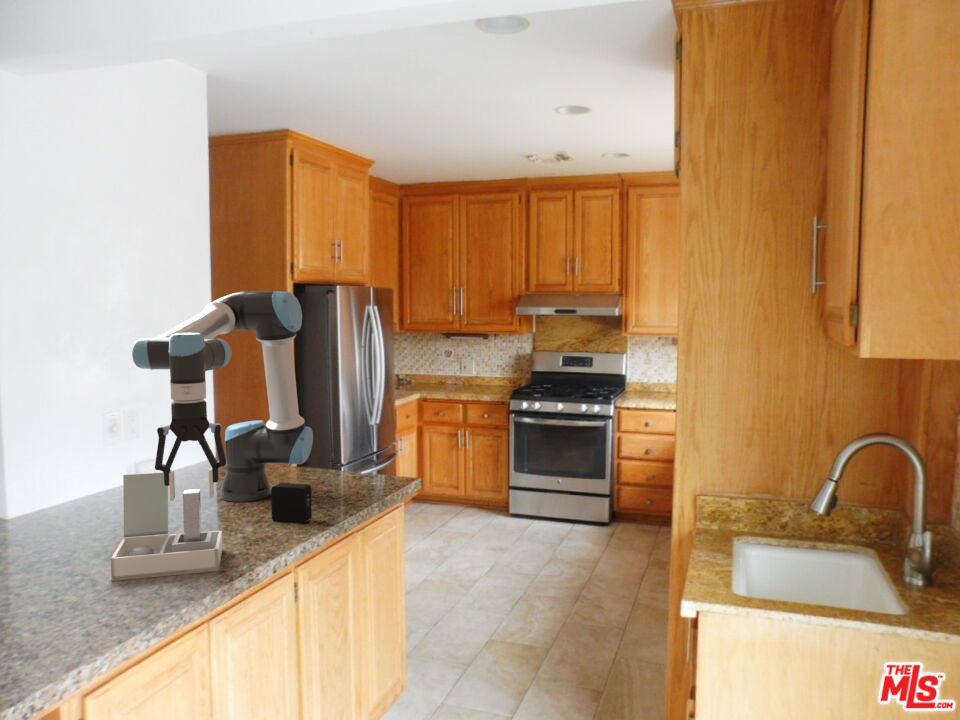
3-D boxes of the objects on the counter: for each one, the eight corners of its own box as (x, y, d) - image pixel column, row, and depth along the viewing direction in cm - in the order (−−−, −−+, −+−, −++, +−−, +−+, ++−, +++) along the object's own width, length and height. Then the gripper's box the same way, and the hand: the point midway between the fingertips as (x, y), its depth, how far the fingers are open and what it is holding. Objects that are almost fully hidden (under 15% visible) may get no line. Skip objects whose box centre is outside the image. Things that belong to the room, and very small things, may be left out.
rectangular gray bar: (186, 556, 168) (184, 489, 166) (201, 555, 169) (200, 488, 167) (184, 561, 164) (182, 493, 163) (200, 560, 165) (198, 492, 164)
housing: (124, 558, 169) (123, 534, 168) (222, 550, 175) (222, 526, 174) (111, 581, 155) (110, 554, 155) (218, 570, 162) (218, 545, 161)
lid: (123, 537, 168) (124, 537, 169) (167, 534, 170) (168, 533, 171) (123, 475, 169) (124, 474, 170) (167, 472, 171) (167, 472, 172)
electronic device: (305, 524, 196) (304, 488, 195) (271, 521, 198) (270, 486, 197) (311, 519, 200) (311, 484, 199) (278, 517, 202) (278, 482, 201)
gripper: (136, 404, 157) (141, 505, 159) (235, 401, 163) (238, 498, 165) (142, 399, 164) (146, 496, 166) (237, 396, 170) (239, 489, 172)
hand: (192, 497), depth 166 cm, fingers open, 8 cm apart
